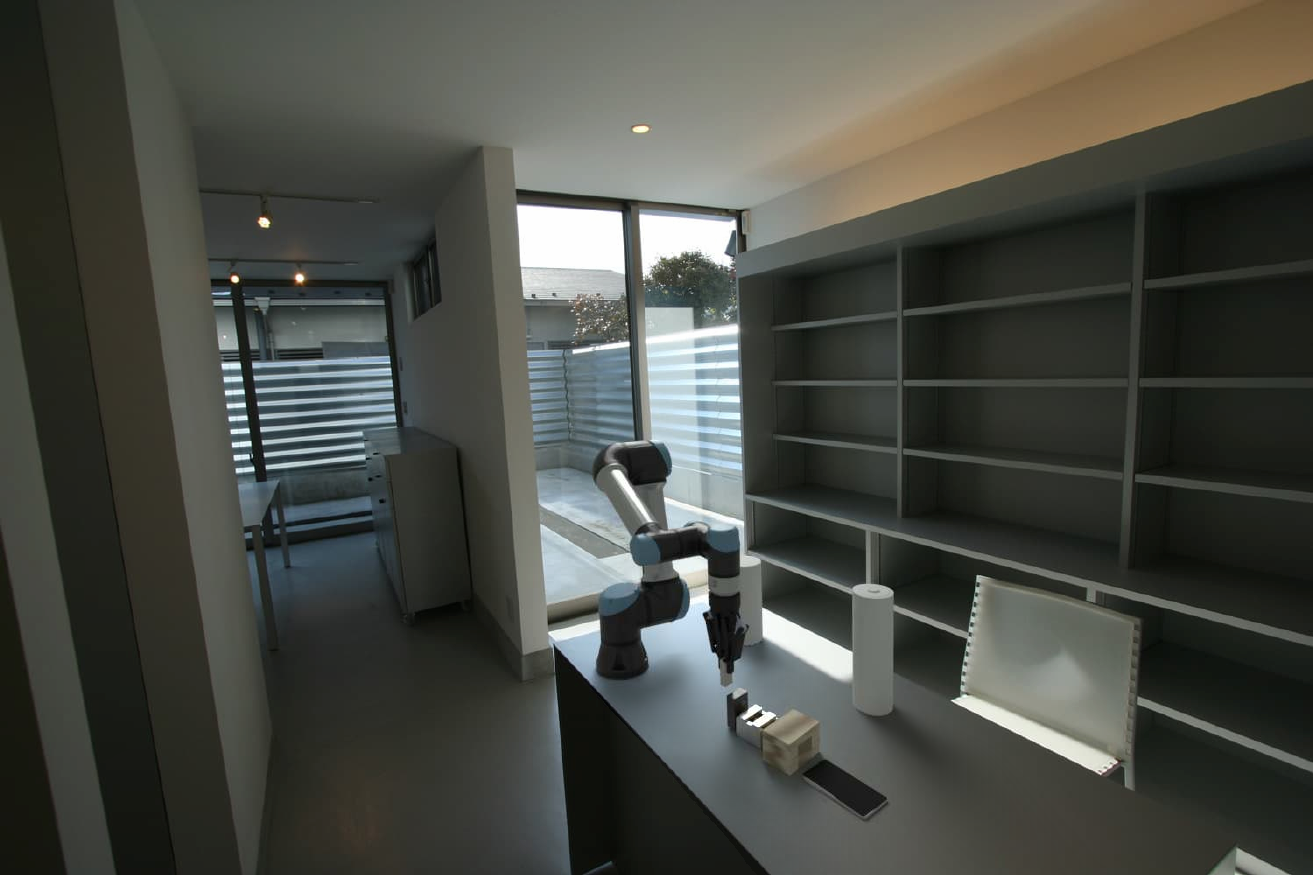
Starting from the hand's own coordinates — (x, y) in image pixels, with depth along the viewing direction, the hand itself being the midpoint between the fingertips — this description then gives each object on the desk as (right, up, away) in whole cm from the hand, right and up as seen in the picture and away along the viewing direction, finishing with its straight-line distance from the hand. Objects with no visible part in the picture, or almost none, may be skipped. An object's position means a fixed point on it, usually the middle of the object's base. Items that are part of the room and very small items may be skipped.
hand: (726, 683), depth 143 cm
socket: (+13, -10, -13) cm, 21 cm away
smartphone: (+21, -12, -23) cm, 34 cm away
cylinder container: (+37, -7, +5) cm, 38 cm away
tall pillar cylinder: (+11, -4, +43) cm, 45 cm away
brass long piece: (+8, -10, -7) cm, 15 cm away
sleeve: (+6, -10, -6) cm, 13 cm away
